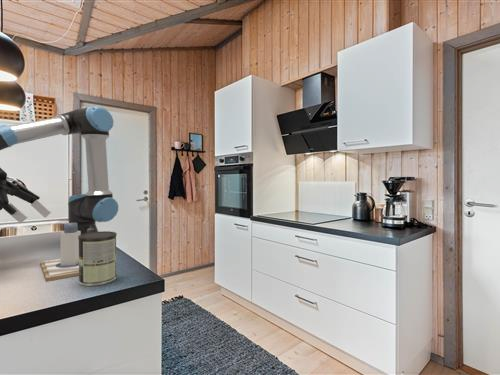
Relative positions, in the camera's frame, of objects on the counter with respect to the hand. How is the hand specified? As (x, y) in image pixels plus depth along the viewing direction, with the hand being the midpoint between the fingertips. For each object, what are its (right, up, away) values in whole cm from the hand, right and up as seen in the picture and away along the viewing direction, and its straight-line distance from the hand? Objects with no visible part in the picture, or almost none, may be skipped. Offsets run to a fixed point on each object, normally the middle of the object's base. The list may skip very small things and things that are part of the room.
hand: (37, 217), depth 96 cm
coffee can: (+26, -18, -10) cm, 33 cm away
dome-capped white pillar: (+10, -16, +2) cm, 19 cm away
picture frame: (+10, -18, +2) cm, 21 cm away
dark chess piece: (+7, -17, +19) cm, 27 cm away
